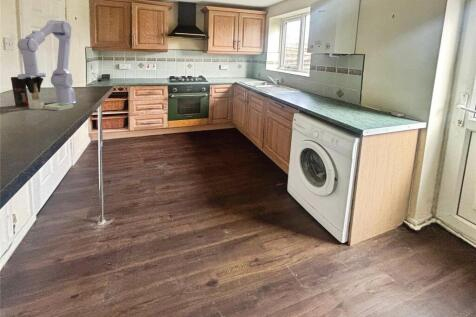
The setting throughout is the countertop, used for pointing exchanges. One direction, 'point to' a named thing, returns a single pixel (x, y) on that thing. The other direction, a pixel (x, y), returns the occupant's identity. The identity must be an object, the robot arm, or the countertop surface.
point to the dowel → (35, 92)
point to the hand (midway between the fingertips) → (34, 92)
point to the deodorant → (19, 92)
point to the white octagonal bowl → (36, 105)
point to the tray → (58, 106)
